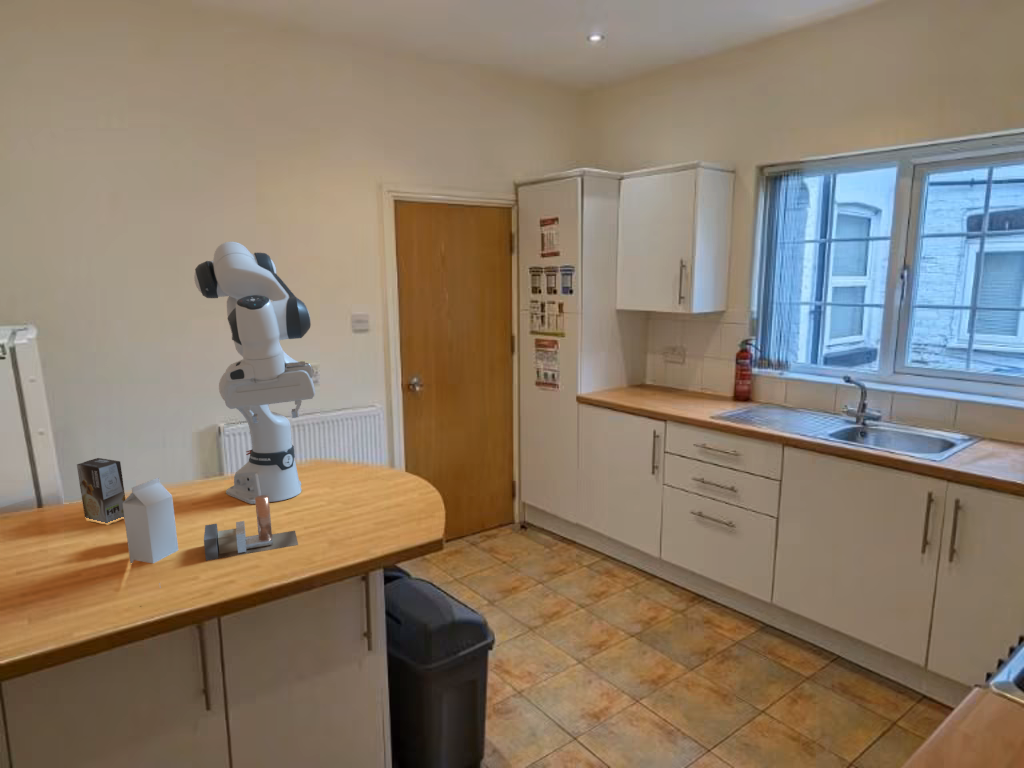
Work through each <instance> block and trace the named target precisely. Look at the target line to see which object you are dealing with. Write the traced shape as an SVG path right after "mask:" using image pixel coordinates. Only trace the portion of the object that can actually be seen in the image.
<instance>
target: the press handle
mask: <svg viewBox="0 0 1024 768" xmlns="http://www.w3.org/2000/svg"><path fill="white" fill-rule="evenodd" d="M255 502H256V504H255V512H256V521H257V522H256V523H257V524H256V525H257V533H258V534H254V535H249V536H247V535H246V527H245V526H246V525H245V520H242V521H236V522H235V529H236V537H237V547H238V553H241V552H246V549H249V548H255V547H261V546H267V545H273V539H272V534H273V530H272V521H271V508H270V502H269V496H267V495H261V496H257V497H256V498H255Z"/></svg>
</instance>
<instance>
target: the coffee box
mask: <svg viewBox="0 0 1024 768" xmlns="http://www.w3.org/2000/svg"><path fill="white" fill-rule="evenodd" d="M76 468H77V475H78V481H79V488H80V493H81V500H82V501H81V502H82V507H83V515H84V518H85V517H86V518H89V519H93V520H97V521H101V522H105V523H108V522H110V521H113V520H116V519H118V518H121V517H124V511H123V502H124V501H125V500H126V494H125V487H124V479H123V471H122V465H121V461H120V460H113V459H107V458H100V457H96V458H92V459H90V460H86V461H83V462H81V463H78V464H76Z"/></svg>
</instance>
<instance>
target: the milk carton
mask: <svg viewBox="0 0 1024 768" xmlns="http://www.w3.org/2000/svg"><path fill="white" fill-rule="evenodd" d="M174 509H175V507H174V501H173V495H172V494H171V493H170V492H169V491H168V490H167V488H166V487H165V486H164V485H163V484H162V483H161V482H160V477H157V478H154V479H150V480H149V481H145V482H143V483H141V484H138V485H136V486H133V487H131V493H130V494H129V495H128V496H127V498H125V501H124V502H123V511H124V519H123V520H124V524H125V531H126V540H127V548H128V555H129V563H133V564H134V561H137V562H138V561H139V562H143V563H148V564H149V563H150V564H155V563H158V562H159V561H161V560H163V559H164V558H167V557H168V556H170V555H172V554H175V553H176V552H178V551H179V543H178V537H177V528H176V525H177V524H176V519H175V510H174Z"/></svg>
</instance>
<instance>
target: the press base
mask: <svg viewBox="0 0 1024 768" xmlns="http://www.w3.org/2000/svg"><path fill="white" fill-rule="evenodd" d="M218 531H219V530H218V524H217V523H211V524H206V525H205V526H204V534H203V535H204V536H203V547H204V554H205V562H208V561H214V560H219V559H223V558H224V559H225V558H230V557H236V556H242V555H247V554H254V553H260V552H266V551H271V550H277V549H282V548H283V549H284V548H288V547H295V546H299V542H298V538H297V533H296V530H291V531H290V530H289V531H283V532H279V533H272V539H273V545H267V546H261V547H255V548H249V549H246V552H241V553H238V551H234V552H228V553H222V554H219V545H218Z"/></svg>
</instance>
